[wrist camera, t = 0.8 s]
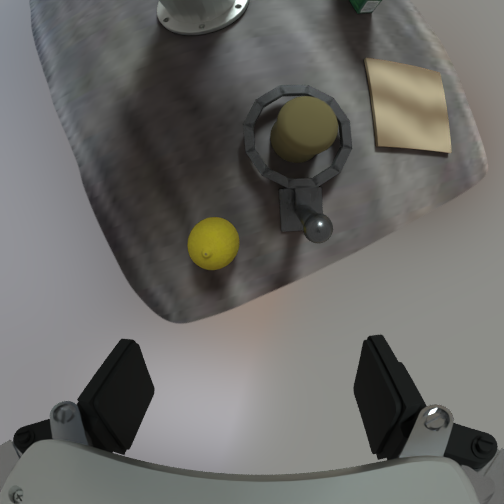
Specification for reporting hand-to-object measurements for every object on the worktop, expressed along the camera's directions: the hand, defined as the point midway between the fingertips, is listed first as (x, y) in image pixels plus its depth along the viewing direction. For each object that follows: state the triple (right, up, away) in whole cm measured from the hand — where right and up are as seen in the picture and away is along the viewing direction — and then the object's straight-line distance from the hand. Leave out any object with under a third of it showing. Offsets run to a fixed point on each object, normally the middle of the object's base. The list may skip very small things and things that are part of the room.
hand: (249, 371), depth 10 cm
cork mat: (+21, +24, +17) cm, 36 cm away
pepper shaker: (+5, +18, +20) cm, 27 cm away
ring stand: (+5, +16, +20) cm, 26 cm away
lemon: (-4, +7, +23) cm, 25 cm away
